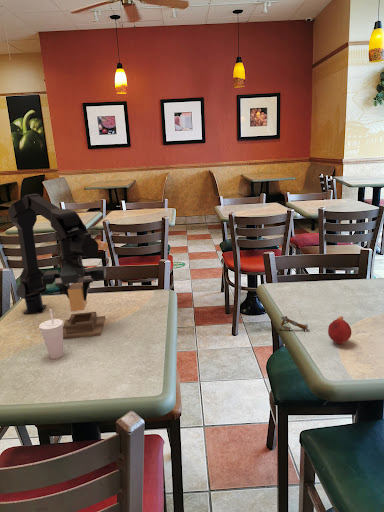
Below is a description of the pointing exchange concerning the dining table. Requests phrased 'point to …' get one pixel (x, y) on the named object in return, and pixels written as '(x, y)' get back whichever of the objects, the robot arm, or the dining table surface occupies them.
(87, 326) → the chassis
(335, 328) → the onion
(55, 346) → the smoothie
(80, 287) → the tan rectangular block
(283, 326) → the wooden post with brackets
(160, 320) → the dining table surface
